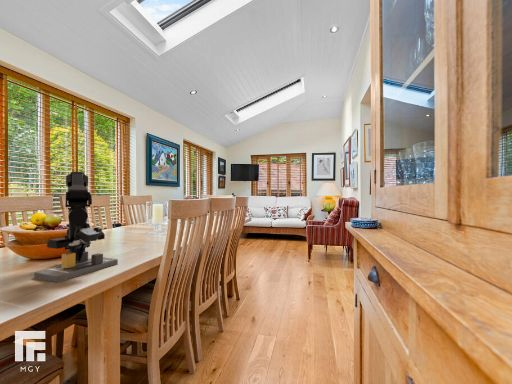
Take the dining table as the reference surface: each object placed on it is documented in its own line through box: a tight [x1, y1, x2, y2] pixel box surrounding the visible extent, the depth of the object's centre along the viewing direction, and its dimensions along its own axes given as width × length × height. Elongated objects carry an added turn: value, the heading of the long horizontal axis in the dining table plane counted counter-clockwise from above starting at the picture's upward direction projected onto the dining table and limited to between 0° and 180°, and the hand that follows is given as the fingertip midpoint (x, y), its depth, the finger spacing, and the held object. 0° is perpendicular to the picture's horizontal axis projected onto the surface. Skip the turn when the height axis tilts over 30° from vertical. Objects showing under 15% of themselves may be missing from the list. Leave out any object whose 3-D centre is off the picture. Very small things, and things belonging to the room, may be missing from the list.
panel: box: [33, 250, 119, 283], centre depth 99 cm, size 12×24×6 cm, turn 160°
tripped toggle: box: [61, 252, 76, 268], centre depth 95 cm, size 3×3×5 cm
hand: (78, 261), depth 99 cm, fingers closed
